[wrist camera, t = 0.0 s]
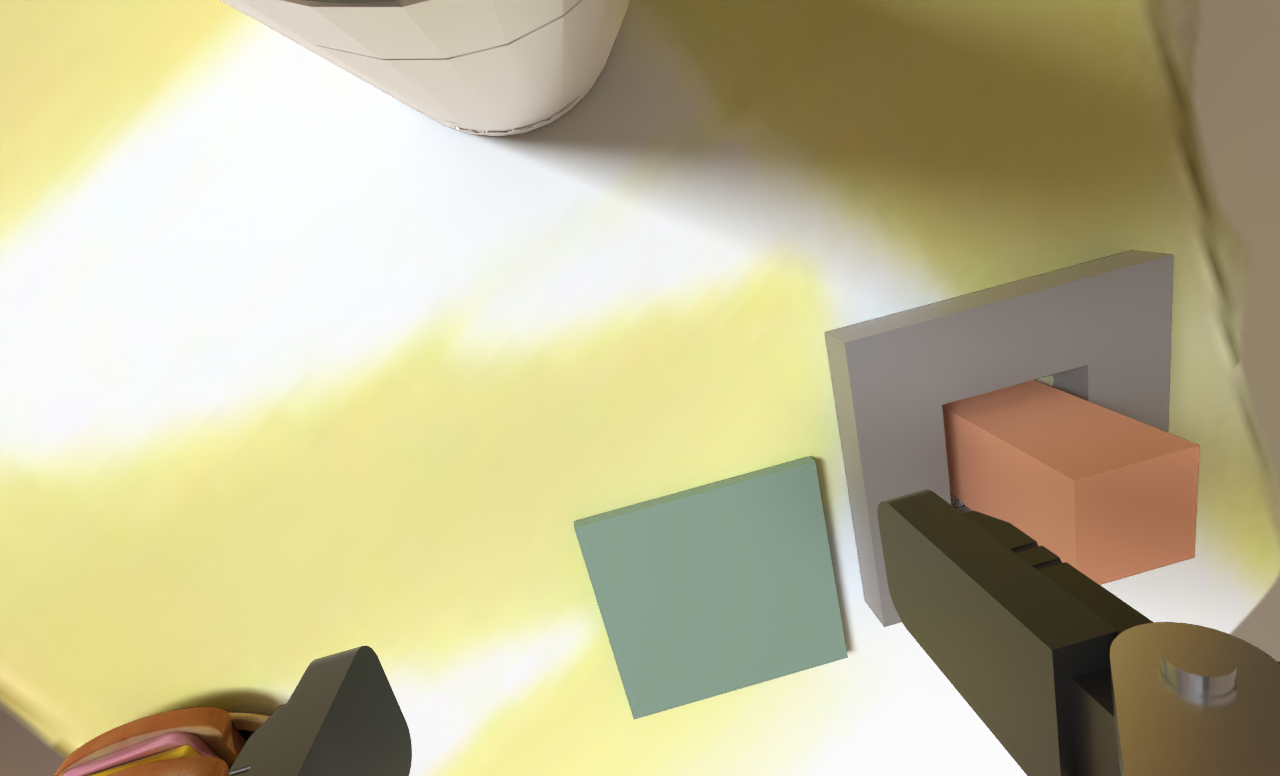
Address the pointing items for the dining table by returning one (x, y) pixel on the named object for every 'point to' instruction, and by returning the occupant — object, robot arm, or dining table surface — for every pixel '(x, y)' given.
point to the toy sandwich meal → (167, 745)
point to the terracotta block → (1075, 478)
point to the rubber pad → (716, 586)
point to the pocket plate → (991, 375)
